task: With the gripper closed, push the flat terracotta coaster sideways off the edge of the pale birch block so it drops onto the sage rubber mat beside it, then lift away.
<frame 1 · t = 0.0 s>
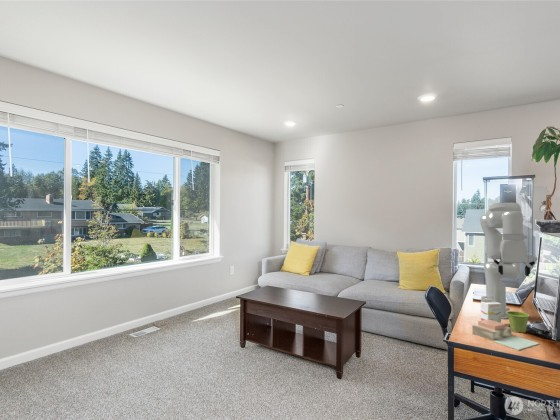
hand: (514, 274, 142), 31 cm above the table, tool pointing down, fingers open, 9 cm apart
coaster: (491, 326, 152), point 4 cm above the table, touching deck
plant pot: (518, 331, 157), on the table
mat: (516, 342, 142), on the table
ink cartridge box: (491, 324, 167), on the table
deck: (491, 335, 152), on the table
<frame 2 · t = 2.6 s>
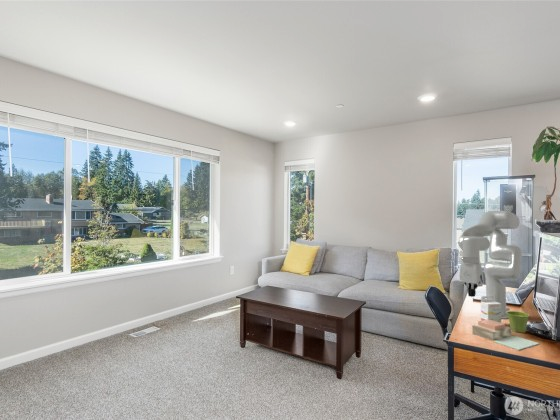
hand: (471, 296, 160), 17 cm above the table, tool pointing down, fingers closed
nothing on the table moved.
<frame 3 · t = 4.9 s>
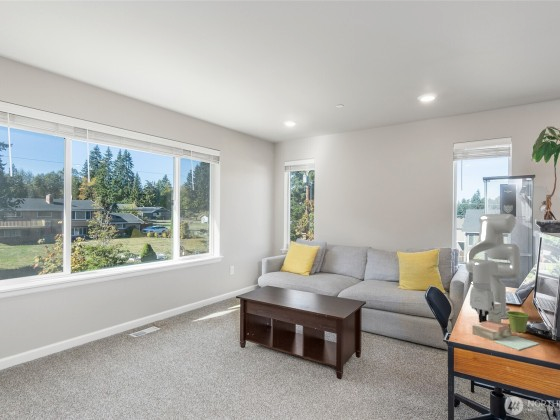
hand: (482, 322, 156), 5 cm above the table, tool pointing down, fingers closed
coaster: (495, 327, 150), point 4 cm above the table, touching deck
everything else where it was.
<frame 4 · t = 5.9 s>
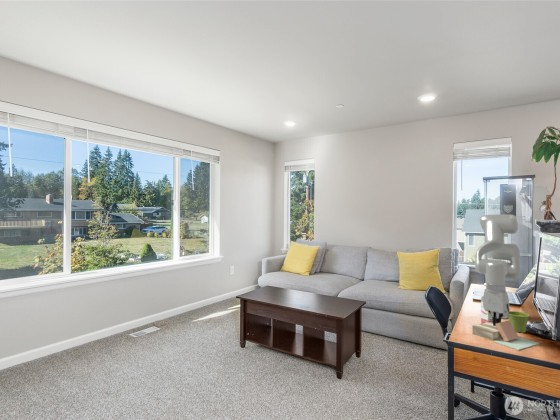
hand: (496, 325, 149), 5 cm above the table, tool pointing down, fingers closed
coaster: (505, 331, 146), point 4 cm above the table, tilted 60°, touching gripper, mat
everything else where it was.
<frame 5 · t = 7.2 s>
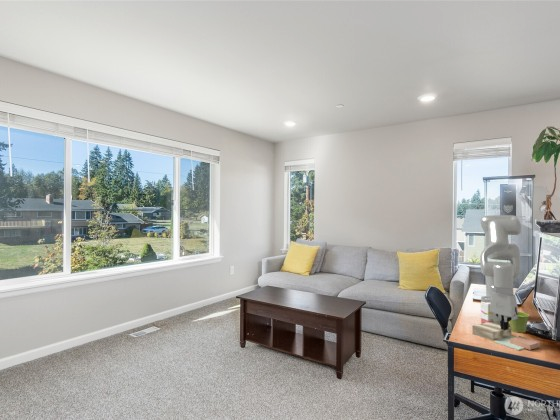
hand: (504, 329, 146), 5 cm above the table, tool pointing down, fingers closed
coaster: (524, 340, 139), point 2 cm above the table, tilted 180°, touching mat
everything else where it was.
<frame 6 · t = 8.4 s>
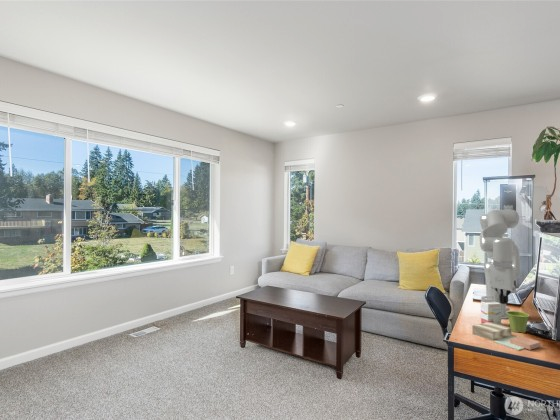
hand: (503, 303, 147), 17 cm above the table, tool pointing down, fingers closed
nothing on the table moved.
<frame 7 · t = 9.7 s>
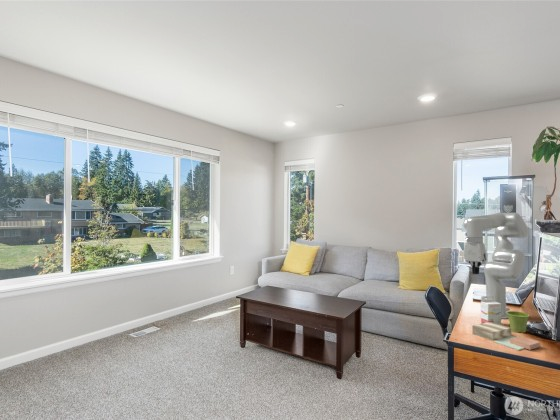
hand: (475, 273, 169), 27 cm above the table, tool pointing down, fingers closed
nothing on the table moved.
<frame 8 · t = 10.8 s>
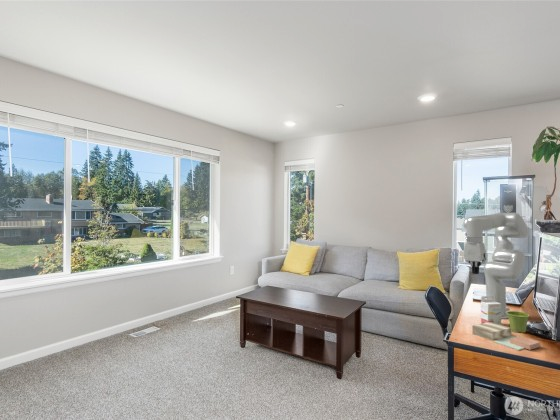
hand: (475, 273, 169), 27 cm above the table, tool pointing down, fingers closed
nothing on the table moved.
at the end: coaster inside the target area (3.3 cm from its centre), point 2.4 cm above the table; coaster point 2.4 cm above the table; coaster touching mat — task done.
